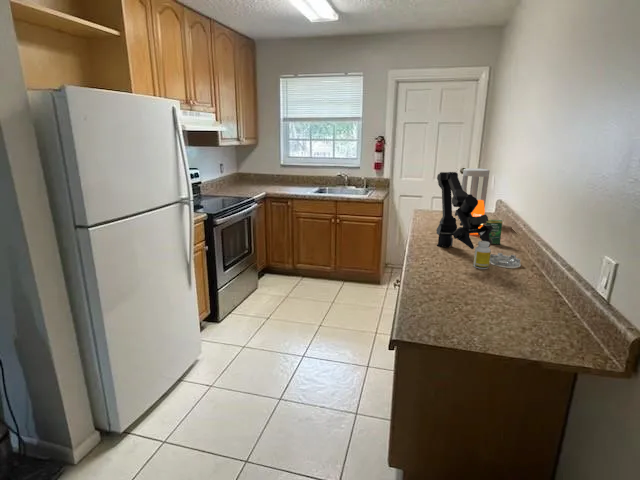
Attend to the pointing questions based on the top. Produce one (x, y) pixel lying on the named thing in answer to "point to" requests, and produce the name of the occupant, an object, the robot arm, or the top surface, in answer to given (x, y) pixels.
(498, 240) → the coffee box
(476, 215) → the orange juice
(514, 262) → the steel ashtray
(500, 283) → the top surface
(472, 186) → the stool
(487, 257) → the pill bottle
